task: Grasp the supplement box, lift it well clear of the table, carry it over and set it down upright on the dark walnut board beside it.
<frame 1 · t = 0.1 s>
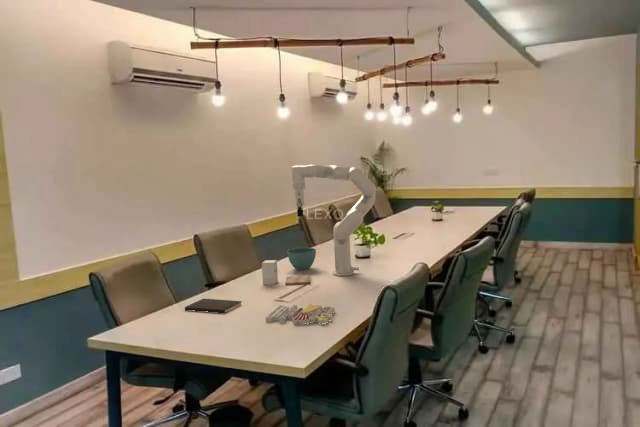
hand: (300, 215, 334), 37 cm above the table, tool pointing down, fingers open, 9 cm apart
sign: (303, 317, 257), on the table
supplement box: (270, 283, 325), on the table
teal bowl: (302, 269, 357), on the table
hardcover book: (213, 308, 279), on the table
walnut board: (298, 281, 325), on the table
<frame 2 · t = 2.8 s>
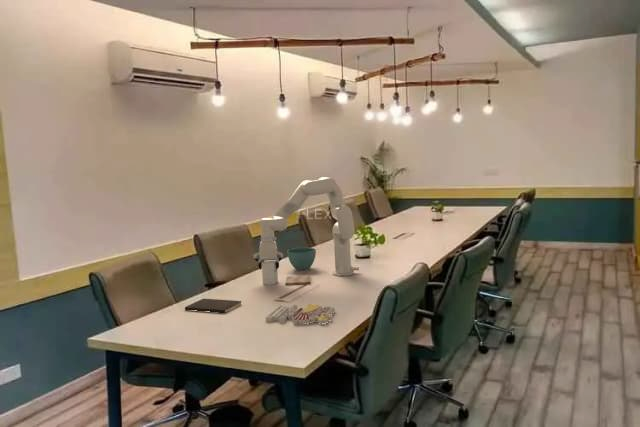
hand: (268, 268, 324), 8 cm above the table, tool pointing down, fingers open, 9 cm apart
nothing on the table moved.
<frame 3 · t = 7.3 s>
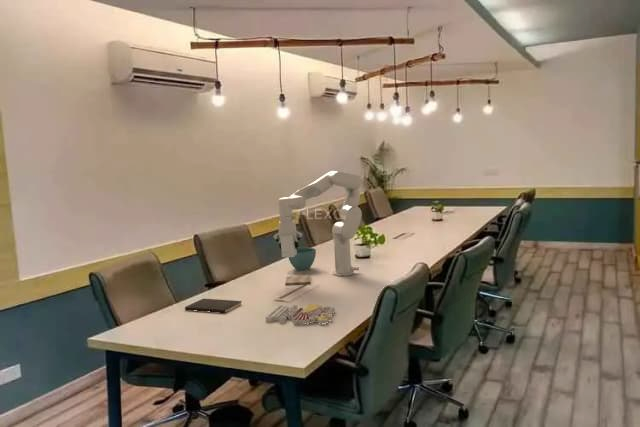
hand: (289, 248, 323), 19 cm above the table, tool pointing down, fingers closed on supplement box, 8 cm apart
supplement box: (289, 256, 323), point 15 cm above the table, touching gripper
everything else where it was.
when the fingers open (6 cm above the table, at t = 10.9 s): supplement box drops 1 cm, resting on walnut board.
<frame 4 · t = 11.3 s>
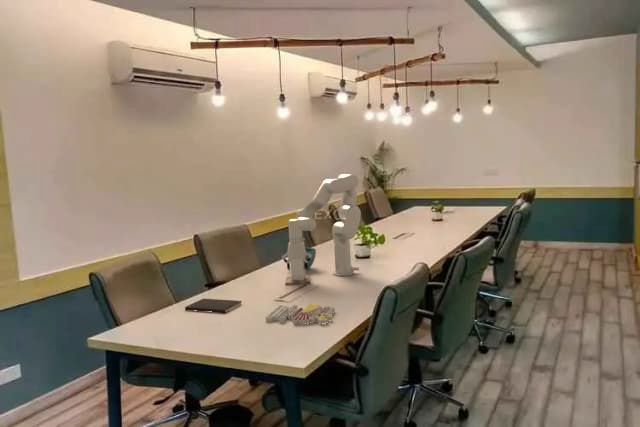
hand: (297, 269, 324), 7 cm above the table, tool pointing down, fingers open, 9 cm apart
supplement box: (298, 279, 325), point 1 cm above the table, touching walnut board
everything else where it was.
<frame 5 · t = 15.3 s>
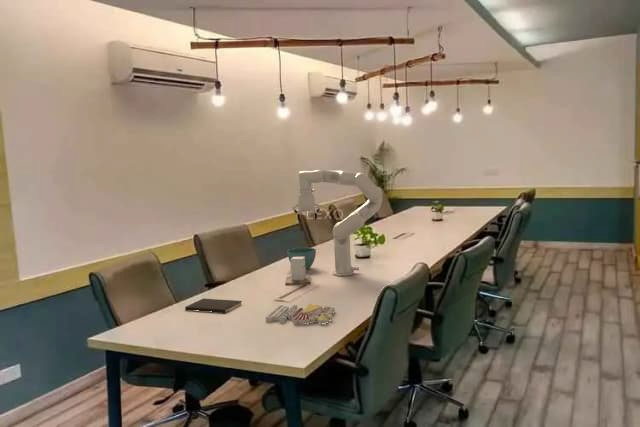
hand: (307, 220, 336), 33 cm above the table, tool pointing down, fingers open, 9 cm apart
nothing on the table moved.
at the end: supplement box inside the target area on the walnut board (0.4 cm from its centre), point 1.0 cm above the walnut board's base; supplement box tilted 0°; the gripper is holding nothing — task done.
